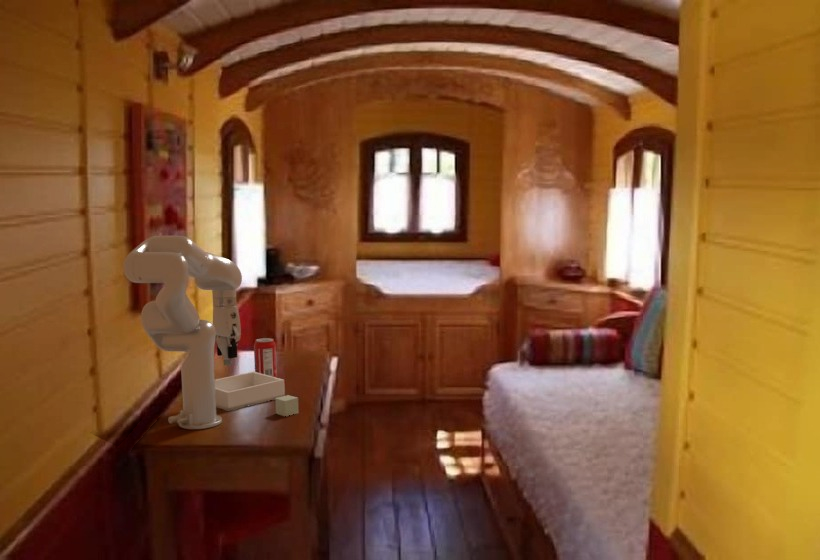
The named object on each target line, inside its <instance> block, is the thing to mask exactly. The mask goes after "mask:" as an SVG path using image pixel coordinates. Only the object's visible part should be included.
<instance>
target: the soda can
mask: <svg viewBox="0 0 820 560" xmlns="http://www.w3.org/2000/svg"><path fill="white" fill-rule="evenodd" d="M274 340H275V339H274V338H270V337H268V338H267V337H263V338H258V339H257V338H256V339H255V342H254V343H253V355H254V356H253V357H254V358H253V359H254V361H253V362H254V372H257V373H261V374H265V375H269V376H272V377H276V378H278V377H277V376H278V372H277V371H278V369H277V368H278V367H277V349H276V348H277V347H276V345H277V344H276V342H275V341H274Z"/></svg>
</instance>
